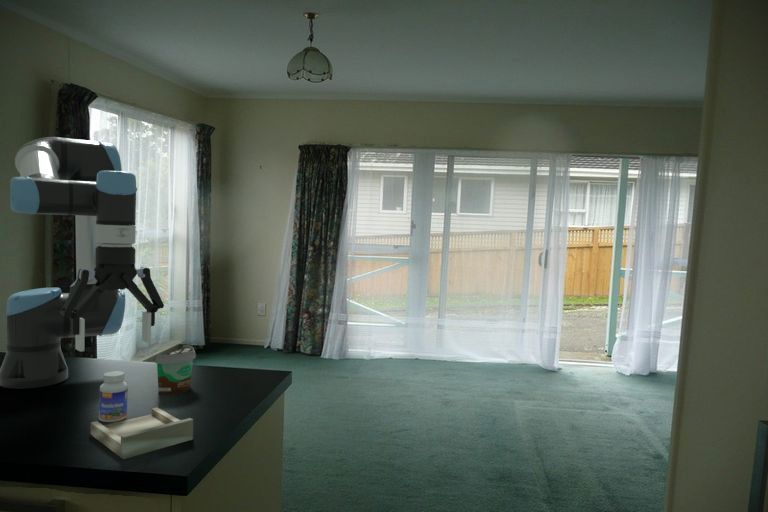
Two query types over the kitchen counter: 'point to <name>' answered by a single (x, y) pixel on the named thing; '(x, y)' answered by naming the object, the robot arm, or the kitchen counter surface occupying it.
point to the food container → (175, 370)
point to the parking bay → (143, 433)
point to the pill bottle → (113, 397)
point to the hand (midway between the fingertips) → (114, 345)
